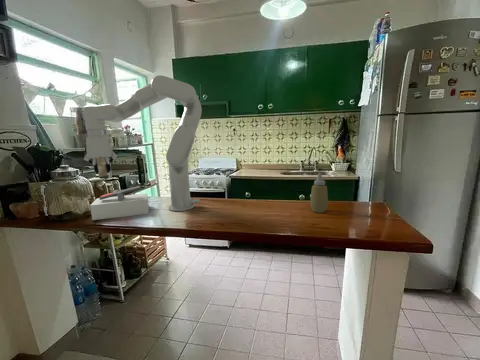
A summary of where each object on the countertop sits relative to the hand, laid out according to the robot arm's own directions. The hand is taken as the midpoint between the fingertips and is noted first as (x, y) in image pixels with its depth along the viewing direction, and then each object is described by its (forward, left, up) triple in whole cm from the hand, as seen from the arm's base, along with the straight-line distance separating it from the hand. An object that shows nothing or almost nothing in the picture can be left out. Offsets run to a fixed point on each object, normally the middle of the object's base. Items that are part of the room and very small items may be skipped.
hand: (103, 172), depth 115 cm
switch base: (-6, 0, -21) cm, 22 cm away
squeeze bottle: (-93, +39, -21) cm, 103 cm away
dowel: (0, 0, -3) cm, 3 cm away
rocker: (-6, 0, -10) cm, 12 cm away
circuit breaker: (+22, -11, -21) cm, 32 cm away
